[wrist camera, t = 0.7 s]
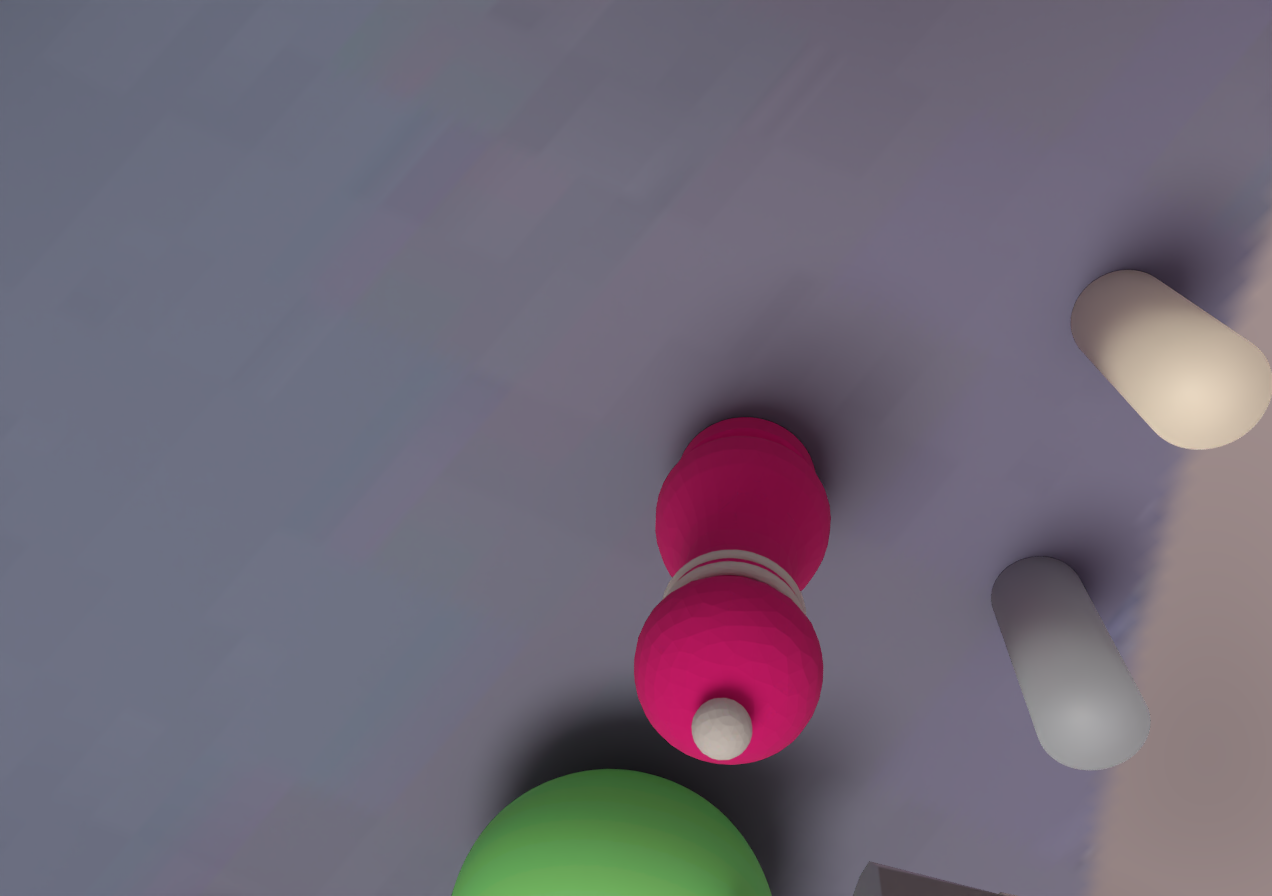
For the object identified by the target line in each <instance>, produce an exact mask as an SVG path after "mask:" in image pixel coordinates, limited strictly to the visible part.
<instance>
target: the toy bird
mask: <svg viewBox="0 0 1272 896" xmlns="http://www.w3.org/2000/svg"><path fill="white" fill-rule="evenodd" d="M452 896H772V894H771V891H770V888H769V885H768V883H767V880H766V878H765V875H764V873H763V870H762V868H761V866H760V864H759V862H758V860H757V858H756V856H755V855H754V853H753V851H752V849H751V848H750V846H749V845H748V843H747V842H746V840H745V839H744V837H743V836H742V835H741V833H740V832H739V831H738V829H737V828H736V827H735V826H734V825H733V824H732V822H731V821H730V820H729V819H728V818H727V817H726V816H725V815H724V814H723V813H722V812H721V811H719V810H718V809H717V808H716V807H715V806H713V805H712V804H711V803H710V802H708V801H707V800H706V799H704V798H703V797H701V796H700V795H698V794H696V793H695V792H693V791H691V790H689V789H688V788H686V787H684V786H682V785H679V784H677V783H675V782H673V781H670V780H667V779H665V778H662V777H659V776H655V775H652V774H648V773H643V772H638V771H632V770H623V769H597V770H588V771H582V772H577V773H572V774H568V775H565V776H562V777H558V778H556V779H553V780H550V781H548V782H545V783H543V784H541V785H539V786H537V787H535V788H533V789H531V790H529V791H528V792H526V793H524V794H523V795H521V796H520V797H518V798H517V799H515V800H514V801H513V802H511V803H510V804H509V805H508V806H506V807H505V808H504V809H503V810H502V811H501V812H500V813H499V814H498V815H497V816H496V817H495V818H494V819H493V820H492V821H491V822H490V823H489V824H488V826H487V827H486V828H485V829H484V831H483V832H482V833H481V835H480V836H479V837H478V839H477V840H476V842H475V843H474V845H473V847H472V848H471V850H470V852H469V854H468V856H467V857H466V859H465V861H464V864H463V866H462V868H461V870H460V873H459V875H458V878H457V880H456V883H455V886H454V889H453V893H452Z"/></svg>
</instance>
